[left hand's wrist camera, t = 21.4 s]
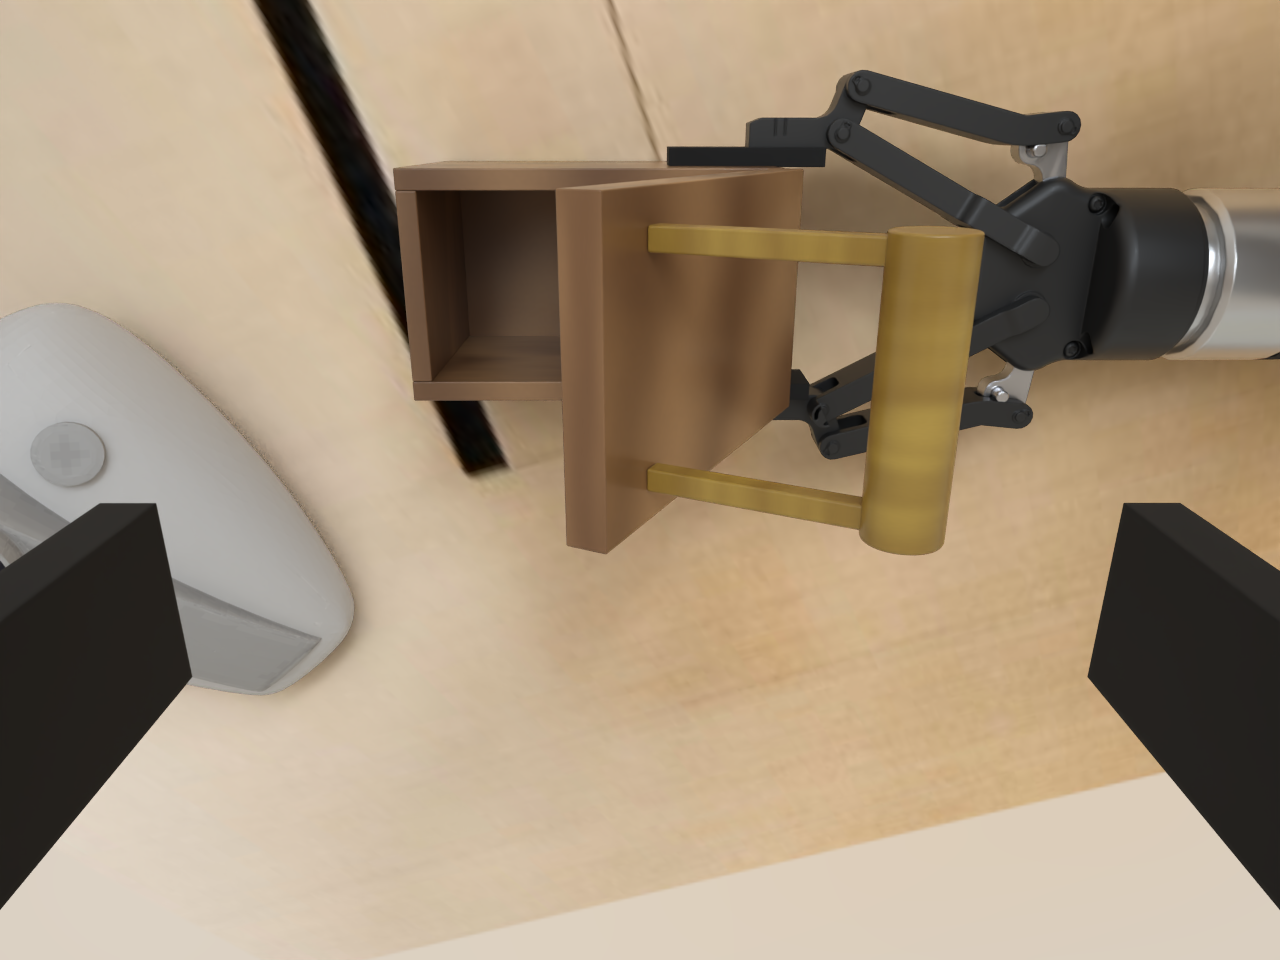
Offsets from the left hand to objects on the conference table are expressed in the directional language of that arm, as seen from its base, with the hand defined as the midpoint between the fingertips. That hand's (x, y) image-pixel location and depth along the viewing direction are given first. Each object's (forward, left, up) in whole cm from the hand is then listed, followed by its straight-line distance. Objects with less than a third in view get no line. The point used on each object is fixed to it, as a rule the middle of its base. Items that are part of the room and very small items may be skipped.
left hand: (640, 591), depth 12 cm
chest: (-2, -1, -36) cm, 36 cm away
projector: (-21, -21, -36) cm, 47 cm away
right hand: (+1, 0, -30) cm, 30 cm away
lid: (+1, +1, -18) cm, 18 cm away
